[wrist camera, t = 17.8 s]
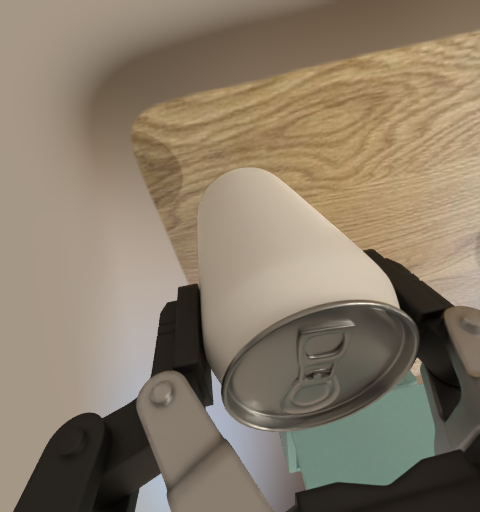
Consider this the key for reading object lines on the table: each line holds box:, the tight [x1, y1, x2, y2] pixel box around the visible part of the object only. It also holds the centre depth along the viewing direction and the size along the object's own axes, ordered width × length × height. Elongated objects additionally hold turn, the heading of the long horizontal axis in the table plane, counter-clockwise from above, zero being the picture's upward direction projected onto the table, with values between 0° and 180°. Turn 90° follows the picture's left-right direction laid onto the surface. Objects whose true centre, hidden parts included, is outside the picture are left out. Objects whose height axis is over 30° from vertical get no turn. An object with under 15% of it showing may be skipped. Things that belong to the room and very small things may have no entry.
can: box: [197, 168, 420, 432], centre depth 12 cm, size 6×6×12 cm
